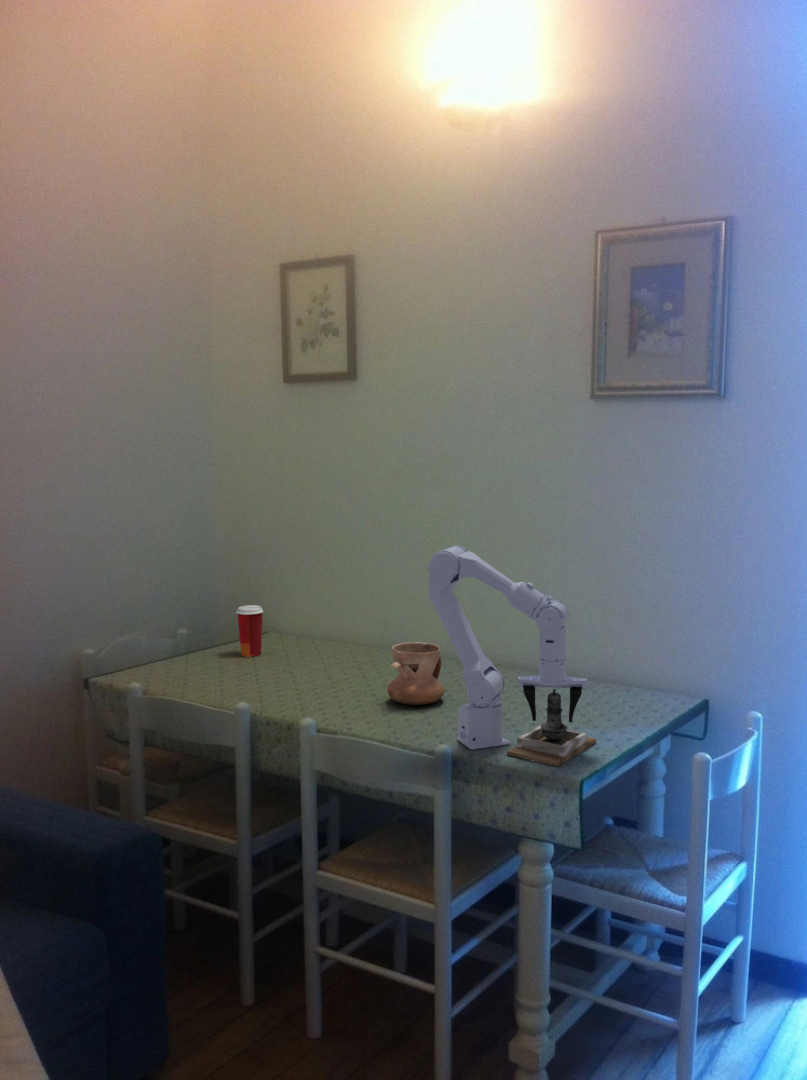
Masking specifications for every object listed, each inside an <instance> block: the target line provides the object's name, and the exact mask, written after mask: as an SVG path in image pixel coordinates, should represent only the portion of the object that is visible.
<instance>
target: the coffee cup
mask: <svg viewBox="0 0 807 1080" xmlns="http://www.w3.org/2000/svg"><path fill="white" fill-rule="evenodd" d="M263 612H264V610H263V608H262V606H261V605H257V604H256V605H254V604H249V605H242V606H239V607H238V608H237V609H236V611H235V614H237V623H238V632H239V633H238V634H239V643H240V653H241V657H243V656H246V657H245V658H253V657H252V656H257V657H259V656H258V655H260V656H261V655H262V645H263V644H262V642H263V641H262V639H263V633H262V632H263ZM248 656H249V657H248Z"/></svg>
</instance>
